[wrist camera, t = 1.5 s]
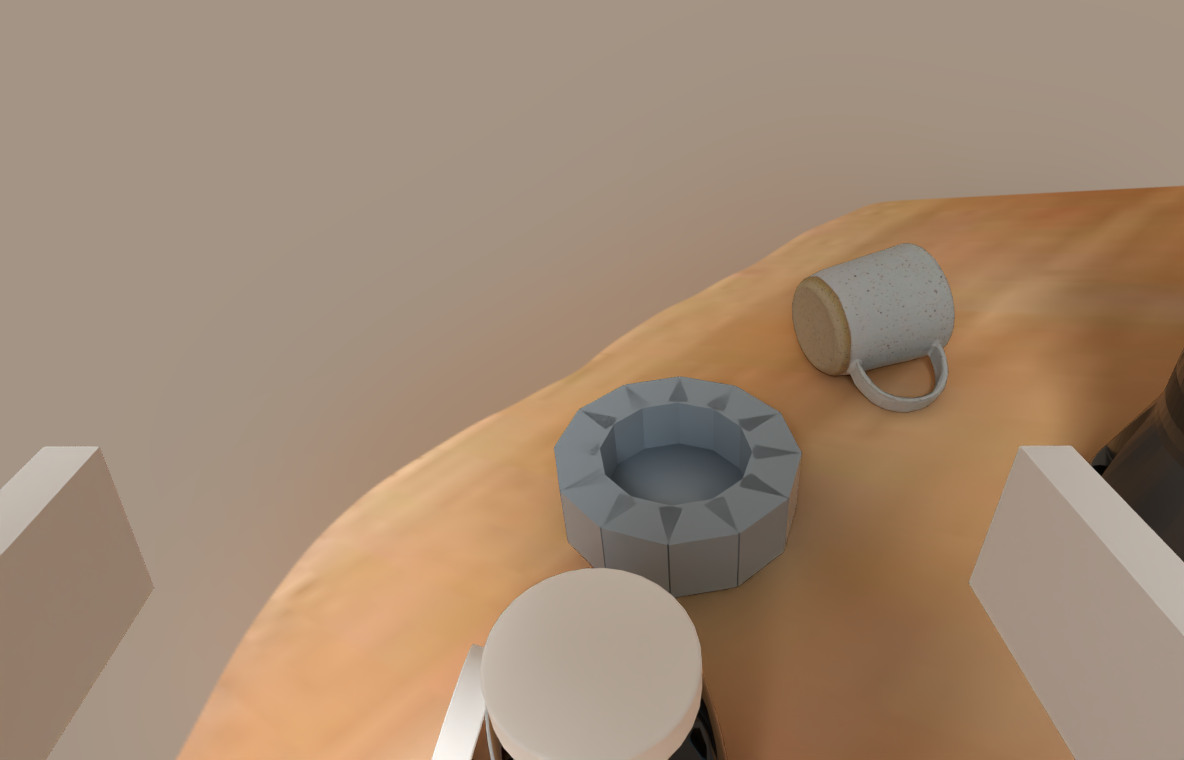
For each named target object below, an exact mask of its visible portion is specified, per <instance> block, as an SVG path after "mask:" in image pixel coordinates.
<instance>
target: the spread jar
mask: <svg viewBox="0 0 1184 760" xmlns="http://www.w3.org/2000/svg"><path fill="white" fill-rule="evenodd" d="M484 718H485V723H486V735H487V743H488V750H489V755H490V760H727V755H726V750H725V745H724V740H723V736H722V732H721V728H720V724H719V720H718V717H717V713H716V710H715V707H714V704H713V701H712V698H711V695H710V692H709V688H708V685H707V683H706V680H705V678H704V675H703V673H702V657H701V646H700V642H699V638H698V635H697V632H696V629H695V626H694V624H693V622H692V621H691V619H690V617H689V616H688V614H687V612H686V610H685V609H684V608H683V607H682V606H681V604H680V603H679V602H678V601H677V600H676V599H675V598H674V597H673V596H672V595H671V594H670V593H668V592H667V591H666V590H665V589H663V588H662V587H661V586H659V585H658V584H656V583H654V582H652V581H650V580H648V579H646V578H644V577H642V576H640V575H636V574H633V573H630V572H626V571H623V570H616V569H608V568H585V569H579V570H574V571H568V572H564V573H561V574H558V575H556V576H553V577H550V578H547V579H545V580H543V581H541V582H540V583H538V584H536V585H534V586H532V587H530V588H529V589H528V590H526V591H525V592H524V593H522V594H521V595H520V596H519V597H517V598H516V599H515V600H514V601H513V602H512V603H511V604H510V605H509V606H508V607H507V608H506V609H505V610H504V611H503V613H502V614H501V615H500V616H499V618H498V620H497V621H496V623H495V624H494V626H493V628H492V629H491V631H490V633H489V636H488V638H487V641H486V644H485V646H484V647H482V646H479V645H475V644H473V645H472V646H471V648H470V650H469V652H468V655H467V657H466V660H465V662H464V665H463V668H462V670H461V673H460V676H459V679H458V681H457V684H456V687H455V690H454V693H453V696H452V698H451V701H450V704H449V707H448V710H447V713H446V716H445V719H444V722H443V725H442V728H441V731H440V734H439V738H438V741H437V744H436V747H435V750H434V753H433V756H432V760H472V757H473V754H474V751H475V747H476V744H477V741H478V737H479V734H480V731H481V728H482V724H483V721H484Z"/></svg>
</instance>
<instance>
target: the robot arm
mask: <svg viewBox="0 0 1184 760" xmlns="http://www.w3.org/2000/svg"><path fill="white" fill-rule="evenodd" d="M969 584H970V586H971V588H972V589H973V591H974V593H975V594H976V596H977V598H978V599H979V601H980V603H981V604H982V606H983V608H984V609H985V611H986V613H987V614H988V616H989V618H990V619H991V621H992V622H993V624H994V626H995V627H996V629H997V631H998V632H999V634H1000V636H1001V637H1002V639H1003V641H1004V642H1005V644H1006V646H1007V647H1008V649H1009V651H1010V652H1011V654H1012V656H1013V657H1014V659H1015V661H1016V662H1017V664H1018V665H1019V667H1020V669H1021V670H1022V672H1023V674H1024V675H1025V677H1026V679H1027V680H1028V682H1029V684H1030V685H1031V687H1032V689H1033V690H1034V692H1035V694H1036V695H1037V697H1038V699H1039V700H1040V702H1041V703H1042V705H1043V707H1044V708H1045V710H1046V712H1047V713H1048V715H1049V717H1050V718H1051V720H1052V722H1053V723H1054V725H1055V727H1056V728H1057V730H1058V732H1059V733H1060V735H1061V737H1062V738H1063V740H1064V742H1065V743H1066V745H1067V746H1068V748H1069V750H1070V751H1071V753H1072V755H1073V756H1074V758H1075V760H1184V349H1183V351H1182V353H1181V355H1180V357H1179V359H1178V362H1177V364H1176V366H1175V368H1174V371H1173V373H1172V375H1171V377H1170V379H1169V382H1168V384H1167V386H1166V388H1165V390H1164V392H1163V393H1162V394H1161V395H1160V396H1159V397H1158V398H1157V399H1156V400H1155V401H1153V402H1152V403H1151V404H1150V405H1149V406H1148V407H1147V408H1146V409H1145V410H1144V411H1143V412H1142V413H1141V414H1139V415H1138V416H1137V417H1136V418H1135V419H1134V420H1133V421H1132V422H1131V423H1130V424H1129V425H1128V426H1126V427H1125V428H1124V429H1123V430H1122V431H1121V432H1120V433H1119V434H1118V435H1117V436H1115V437H1114V438H1113V439H1112V440H1111V441H1110V442H1109V443H1108V444H1107V445H1106V446H1105V447H1104V448H1102V449H1101V450H1100V451H1099V452H1098V453H1097V454H1096V455H1095V456H1094V457H1093V458H1092V460H1091V461H1090V462H1089V463H1088V462H1087V461H1086V460H1085V459H1084V458H1083V457H1082V456H1081V455H1080V454H1079V453H1078V452H1077V451H1076V450H1075V449H1074V448H1073V447H1072V446H1019V449H1018V452H1017V454H1016V457H1015V460H1014V462H1013V465H1012V468H1011V470H1010V473H1009V476H1008V478H1007V481H1006V484H1005V487H1004V489H1003V492H1002V495H1001V497H1000V500H999V503H998V505H997V508H996V511H995V513H994V516H993V519H992V521H991V524H990V527H989V530H988V532H987V535H986V538H985V540H984V543H983V546H982V548H981V551H980V554H979V556H978V559H977V562H976V564H975V567H974V570H973V573H972V575H971V578H970V581H969ZM153 589H154V586H153V583H152V581H151V578H150V575H149V573H148V570H147V568H146V565H145V562H144V560H143V557H142V555H141V552H140V550H139V547H138V544H137V542H136V539H135V537H134V534H133V532H132V529H131V527H130V524H129V522H128V519H127V516H126V514H125V511H124V508H123V506H122V503H121V501H120V498H119V496H118V493H117V490H116V488H115V485H114V483H113V480H112V477H111V475H110V472H109V470H108V467H107V465H106V462H105V460H104V457H103V454H102V452H101V449H100V447H43V448H42V449H41V450H40V451H39V452H38V453H37V454H36V455H35V456H34V457H33V458H32V459H31V460H30V461H29V462H28V463H27V464H26V465H25V466H24V467H23V468H22V469H21V470H20V471H19V472H18V473H17V474H16V475H15V476H14V477H13V478H12V479H11V480H10V481H9V482H7V483H6V484H5V486H3V488H1V489H0V760H46V759H47V757H48V755H49V754H50V752H51V751H52V749H53V747H54V746H55V744H56V743H57V741H58V739H59V738H60V736H61V735H62V733H63V732H64V730H65V728H66V727H67V725H68V724H69V722H70V721H71V719H72V717H73V716H74V714H75V713H76V711H77V709H78V708H79V706H80V705H81V703H82V702H83V700H84V698H85V697H86V695H87V694H88V692H89V690H90V689H91V687H92V686H93V684H94V683H95V681H96V679H97V678H98V676H99V675H100V673H101V672H102V670H103V668H104V667H105V665H106V663H107V662H108V660H109V659H110V657H111V656H112V654H113V653H114V651H115V649H116V648H117V646H118V644H119V643H120V641H121V640H122V638H123V637H124V635H125V634H126V632H127V630H128V629H129V627H130V626H131V624H132V622H133V621H134V619H135V618H136V616H137V614H138V613H139V611H140V610H141V608H142V607H143V605H144V603H145V602H146V600H147V599H148V597H149V595H150V594H151V592H152V591H153Z"/></svg>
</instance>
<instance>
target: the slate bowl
mask: <svg viewBox="0 0 1184 760" xmlns="http://www.w3.org/2000/svg"><path fill="white" fill-rule="evenodd" d="M554 451H555V458H556V466H557V473H558V481H559V488H560V495H561V501H562V507H563V514H564V520H565V526H566V532H567V538H568V542H569V544H570V545H571V546H572V547H574V548H575V549H576V550H577V551H578V552H579V553H580V554H581V555H582V556H583V557H584V558H585V559H586V560H587V561H588V562H589V563H590V564H591V565H592V566H593V567H594V568H608V569H616V570H623V571H626V572H630V573H633V574H636V575H640V576H642V577H644V578H646V579H648V580H650V581H652V582H654V583H656V584H658V585H659V586H661V587H662V588H663V589H665V590H666V591H667V592H668V593H670V594H671V595H672V596H673V597H680V596H686V595H692V594H699V593H705V592H711V591H717V590H723V589H729V588H735V587H737V586H740V585H741V584H742V583H744V582H745V581H746V580H748V579H749V578H750V577H751V576H753V575H754V574H755V573H757V572H758V571H759V570H761V569H762V568H763V567H765V566H766V565H767V564H768V563H770V562H771V561H772V560H774V559H775V558H776V557H778V556H779V555H780V554H782V553H783V552H784V550H785V546H786V543H787V539H788V535H789V532H790V528H791V524H792V521H793V517H794V513H795V510H796V506H797V496H798V486H799V476H800V466H801V456H802V454H801V453H802V452H801V450H800V449H799V447H798V445H797V443H796V441H795V439H794V437H793V435H792V433H791V431H790V430H789V428H788V426H787V424H786V422H785V420H784V418H783V416H782V414H781V413H780V412H779V411H777V410H775V409H774V408H772V407H770V406H769V405H767V404H765V403H764V402H762V401H760V400H759V399H757V398H755V397H754V396H752V395H750V394H749V393H747V392H745V391H744V390H742V389H740V388H739V387H737V386H736V387H735V386H734V385H728V384H722V383H716V382H710V381H704V380H698V379H692V378H687V377H673V378H666V379H659V380H653V381H646V382H639V383H633V384H626V385H625V386H624V385H623V386H621V387H619V388H617V389H615V390H614V391H612V392H610V393H608V394H606V395H604V396H603V397H601V398H599V399H597V400H595V401H593V402H592V403H590V404H588V405H586V406H584V407H582V408H581V409H579V410H578V411H577V413H576V415H575V416H574V418H573V419H572V421H571V422H570V424H569V425H568V427H567V428H566V430H565V431H564V433H563V434H562V436H561V437H560V439H559V440H558V442H557V444H556V445H555V447H554Z"/></svg>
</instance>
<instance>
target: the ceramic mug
mask: <svg viewBox="0 0 1184 760" xmlns="http://www.w3.org/2000/svg"><path fill="white" fill-rule="evenodd" d="M792 316H793V324H794V329H795V332H796V335H797V339H798V342H799V344H800V346H801V349H802V350H803V352H804V354H805V355H806V357H807V358H808V360H809V361H810V362H811V363H812V365H814V366H815V367H816V368H817V369H818V370H820V371H822V372H824V373H826V374H828V375H836V376H838V375H850V374H851V377H852V379H853V381H854V383H855V385H856V387H857V388H858V389H859V390H860V391H861V392H862V393H863V395H864V396H865V397H867V398H868V399H869V401H871V402H872V403H874V404H875V405H877V406H879V407H881V408H883V409H886V410H891V411H896V412H911V411H916V410H919V409H922V408H924V407H927V406H928V405H930V404H931V403H932V402H933V401H934V400H935V399H936V398H937V397H938V396H939V395H940V394H941V392H942V391H943V390H944V388H945V385H946V382H947V378H948V365H947V359H946V356H945V353H944V350H943V348H944V347H945V345H946V344H947V343H948V341H949V339H950V337H951V334H952V331H953V327H954V317H955V316H954V304H953V297H952V294H951V290H950V287H949V284H948V282H947V279H946V277H945V275H944V273H943V271H942V269H941V268H940V266H939V264H938V263H937V261H936V260H935V259H934V258H933V257H932V256H931V255H930V254H929V253H928V252H927V251H926V250H925V249H923V248H922V247H919V246H917V245H914V244H910V243H905V244H900V245H897V246H894V247H891V248H888V249H885V250H882V251H879V252H876V253H872V254H869V255H866V256H863V257H860V258H857V259H854V260H851V261H848V262H845V263H842V264H838V265H835V266H832V267H829V268H826V269H824V270H821V271H819V272H817V273H815V274H813V275H811V276H809V277H808V278H806V279H804V280H803V281H802V282H801V283H800V284H799V286H798V287H797V289H796V291H795V294H794V298H793V303H792ZM926 356H929V357H930V359H931V362H932V365H933V368H934V372H935V379H936V382H935V388H934V390H933V392H931V393H929V394H928V395H925V396H923V397H917V398H906V397H898V396H894V395H892V394H888V393H886V392H884V391H882V390H881V389H880V388H879V387H877V386H876V385H875V384H874V383H873V382H872V380H871V379H870V378H869V377H868V376H867V374H866V373H865V371H867V370H871V369H875V368H878V367H882V366H887V365H892V364H896V363H901V362H905V361H909V360H913V359H917V358H921V357H926Z"/></svg>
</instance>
